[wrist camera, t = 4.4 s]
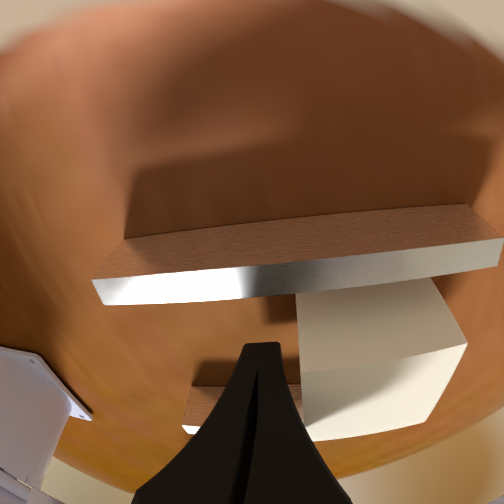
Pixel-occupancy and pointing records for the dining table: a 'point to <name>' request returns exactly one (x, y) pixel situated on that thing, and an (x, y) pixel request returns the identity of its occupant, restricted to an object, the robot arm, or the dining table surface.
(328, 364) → the block
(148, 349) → the dining table surface
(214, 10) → the dining table surface
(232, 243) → the channel
